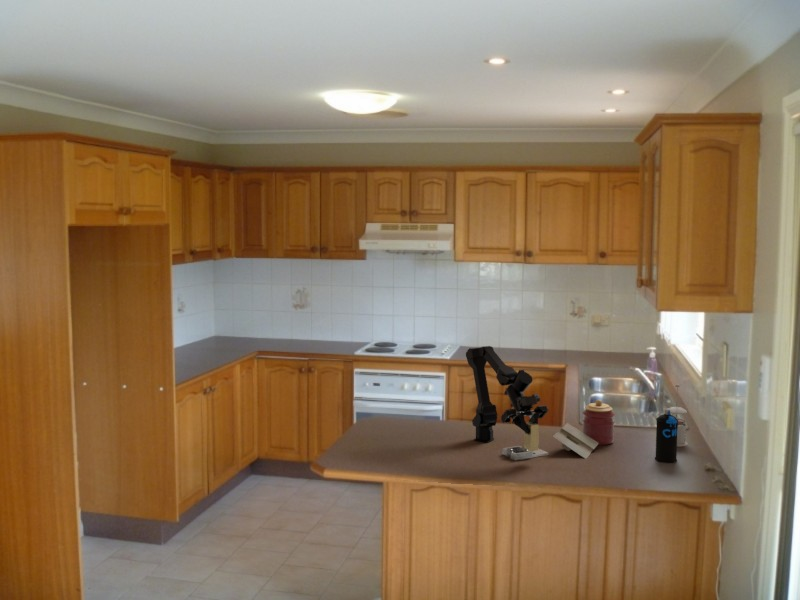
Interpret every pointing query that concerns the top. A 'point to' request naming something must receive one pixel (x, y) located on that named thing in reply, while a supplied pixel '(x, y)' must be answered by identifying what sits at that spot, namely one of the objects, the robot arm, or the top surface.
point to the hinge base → (522, 453)
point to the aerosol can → (666, 438)
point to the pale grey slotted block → (575, 440)
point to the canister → (599, 422)
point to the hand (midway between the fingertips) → (533, 433)
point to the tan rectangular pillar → (531, 437)
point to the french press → (679, 423)
